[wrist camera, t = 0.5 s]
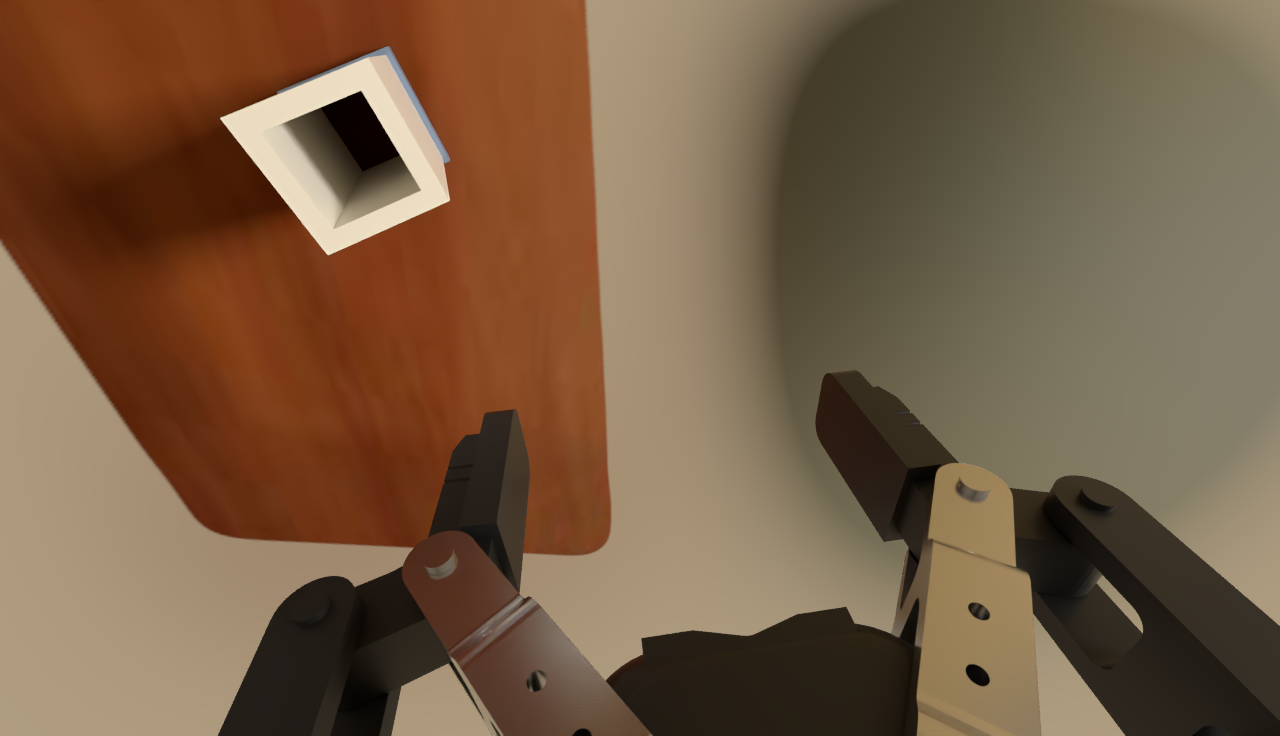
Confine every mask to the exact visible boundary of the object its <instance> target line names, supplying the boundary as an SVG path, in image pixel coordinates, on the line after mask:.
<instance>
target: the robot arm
mask: <svg viewBox="0 0 1280 736" xmlns="http://www.w3.org/2000/svg"><path fill="white" fill-rule="evenodd" d="M816 432H817V435H818V438H819V440H820V442H821V444H822V446H823V447H824V449H825V450H826V452H827V453H828V455H829V457H830V458H831V459H832V461H833V463H834V464H835V466H836V467H837V469H838V471H839V472H840V474H841V475H842V477H843V479H844V480H845V482H846V483H847V485H848V486H849V488H850V489H851V491H852V493H853V494H854V496H855V497H856V499H857V500H858V502H859V504H860V505H861V507H862V508H863V510H864V511H865V513H866V514H867V516H868V517H869V519H870V521H871V522H872V524H873V525H874V527H875V528H876V530H877V532H878V533H879V535H880V536H881V538H882V539H883V541H884V542H885V541H892V540H899V539H904V541H905V542H906V544H907V545H908V549H907V551H906V554H905V559H904V565H903V571H902V577H901V583H900V590H899V596H898V602H897V608H896V614H895V620H894V624H893V628H892V632H891V634H890V633H888V632H885V631H882V630H879V629H876V628H873V627H870V626H865V625H860V624H854V622H853V620H852V618H851V616H850V614H849V611H848V609H847V608H846V607H842V608H836V609H829V610H823V611H816V612H811V613H803V614H797V615H795V616H793V617H791V618H788V619H786V620H784V621H782V622H780V623H778V624H776V625H774V626H772V627H769V628H767V629H765V630H763V631H761V632H759V633H756V634H754V635H751V636H740V635H730V634H721V633H712V632H703V631H694V630H693V631H686V632H680V633H673V634H666V635H660V636H653V637H647V638H642V648H643V655H641V656H639V657H637V658H635V659H633V660H631V661H629V662H628V663H626V664H625V665H623V666H621V667H620V668H619V669H618V670H617V671H615V672H614V673H613V674H612V675H611V676H610V677H609V678H608V679H607V680H606V681H605V680H604V679H603V678H602V676H601V675H600V674H599V673H598V672H597V671H596V669H595V668H594V667H593V666H592V665H591V664H590V663H589V661H588V660H587V659H586V658H585V657H584V656H583V655H582V654H581V652H580V651H579V650H578V649H577V648H576V646H575V645H574V644H573V643H572V642H571V641H570V639H569V638H568V637H567V636H566V635H565V634H564V633H563V631H562V630H561V629H560V628H559V627H558V626H557V625H556V623H555V622H554V621H553V620H552V619H551V618H550V616H549V615H548V614H547V613H546V612H545V611H544V610H543V608H542V607H541V606H540V605H539V604H538V603H537V602H536V601H535V600H534V599H533V598H531V597H527V598H526V599H525V598H523V597H522V596H521V595H520V594H519V592H520V581H521V570H522V558H523V548H524V537H525V525H526V514H527V503H528V492H529V480H530V467H529V458H528V453H527V449H526V445H525V441H524V437H523V432H522V428H521V424H520V420H519V416H518V413H517V411H516V409H513V410H504V411H496V412H487V413H485V415H484V418H483V422H482V427H481V431H480V434H473V435H466V436H465V437H464V438H463V439H462V440H461V442H460V443H459V444H458V445H457V446H456V448H455V449H454V450H453V452H452V456H451V459H450V463H449V466H448V471H447V473H446V477H445V480H444V481H445V484H443V487H442V491H441V494H440V498H439V501H438V505H437V508H436V512H435V515H434V519H433V522H432V526H431V529H430V533H429V536H428V538H426V539H425V540H423V541H422V542H420V543H419V544H418V545H417V546H416V547H415V548H414V549H413V550H412V551H411V552H410V553H409V555H408V556H407V558H406V560H405V562H404V564H403V566H402V567H400V568H398V569H397V570H395V571H393V572H390V573H388V574H386V575H383V576H381V577H378V578H376V579H374V580H372V581H369V582H366V583H364V584H362V585H359V586H356V587H354V586H353V584H352V583H351V582H350V581H349V580H348V579H346V578H344V577H339V576H330V577H324V578H319V579H317V580H314V581H312V582H310V583H308V584H306V585H304V586H302V587H301V588H299V589H297V590H296V591H295V592H294V593H292V594H291V595H290V596H289V597H288V598H286V600H284V601H283V603H282V604H281V605H280V606H279V607H278V609H277V610H276V612H275V613H274V615H273V617H272V619H271V620H270V623H269V625H268V627H267V629H266V631H265V634H264V636H263V638H262V640H261V642H260V645H259V647H258V649H257V651H256V653H255V655H254V658H253V660H252V662H251V664H250V666H249V669H248V671H247V673H246V675H245V677H244V679H243V682H242V684H241V686H240V688H239V691H238V693H237V695H236V697H235V699H234V701H233V704H232V706H231V708H230V710H229V712H228V714H227V717H226V719H225V721H224V724H223V725H222V728H221V730H220V732H219V734H218V736H391V734H392V729H393V725H394V720H395V715H396V710H397V705H398V700H399V695H400V690H401V686H403V685H405V684H407V683H409V682H411V681H413V680H415V679H417V678H419V677H421V676H423V675H425V674H427V673H429V672H431V671H433V670H435V669H437V668H440V667H441V666H444V665H446V664H448V665H449V667H450V668H451V670H452V671H453V673H454V675H455V676H456V678H457V680H458V681H459V683H460V684H461V686H462V688H463V689H464V691H465V692H466V694H467V696H468V697H469V699H470V700H471V702H472V704H473V705H474V707H475V709H476V710H477V712H478V713H479V715H480V716H481V718H482V720H483V721H484V723H485V724H486V726H487V728H488V730H489V731H490V733H491V735H492V736H1041V725H1040V710H1039V695H1038V681H1037V666H1036V652H1035V637H1034V622H1033V614H1034V615H1035V616H1036V618H1037V619H1038V620H1039V621H1040V623H1041V624H1042V626H1043V627H1044V628H1045V630H1046V631H1047V632H1048V634H1049V635H1050V636H1051V638H1052V639H1053V640H1054V642H1055V643H1056V644H1057V646H1058V647H1059V648H1060V650H1061V651H1062V652H1063V653H1064V655H1065V656H1066V657H1067V659H1068V660H1069V661H1070V663H1071V664H1072V665H1073V666H1074V668H1075V669H1076V671H1077V672H1078V673H1079V675H1080V676H1081V677H1082V679H1083V680H1084V681H1085V683H1086V684H1087V685H1088V687H1089V688H1090V689H1091V690H1092V692H1093V693H1094V695H1095V696H1096V697H1097V698H1098V700H1099V701H1100V702H1101V704H1102V705H1103V706H1104V708H1105V709H1106V710H1107V712H1108V713H1109V714H1110V715H1111V717H1112V718H1113V720H1114V721H1115V722H1116V724H1117V725H1118V726H1119V727H1120V729H1121V730H1122V732H1123V733H1124V734H1125V736H1280V626H1279V625H1278V624H1277V623H1276V622H1274V621H1273V620H1272V619H1271V618H1270V617H1269V616H1267V615H1266V614H1265V613H1264V612H1263V611H1262V610H1260V609H1259V608H1258V607H1257V606H1256V605H1255V604H1253V603H1252V602H1251V601H1250V600H1249V599H1248V598H1246V597H1245V596H1244V595H1243V594H1242V593H1241V592H1239V591H1238V590H1237V589H1236V588H1235V587H1234V586H1233V585H1231V584H1230V583H1229V582H1228V581H1227V580H1226V579H1224V578H1223V577H1222V576H1221V575H1220V574H1218V573H1217V572H1216V571H1215V570H1214V569H1213V568H1212V567H1210V566H1209V565H1208V564H1207V563H1206V562H1204V561H1203V560H1202V559H1201V558H1200V557H1199V556H1198V555H1196V554H1195V553H1194V552H1193V551H1192V550H1191V549H1189V548H1188V547H1187V546H1186V545H1185V544H1184V543H1183V542H1181V541H1180V540H1179V539H1178V538H1177V537H1176V536H1174V535H1173V534H1172V533H1171V532H1170V531H1169V530H1167V529H1166V528H1165V527H1164V526H1163V525H1162V524H1160V523H1159V522H1158V521H1157V520H1156V519H1155V518H1153V517H1152V516H1151V515H1150V514H1149V513H1148V512H1146V511H1145V510H1144V509H1143V508H1142V507H1140V506H1139V505H1138V504H1137V503H1136V502H1135V501H1134V500H1133V499H1131V498H1130V497H1129V496H1127V495H1126V494H1125V493H1123V492H1122V491H1120V490H1119V489H1117V488H1115V487H1113V486H1111V485H1109V484H1107V483H1105V482H1102V481H1099V480H1096V479H1093V478H1089V477H1084V476H1064V477H1061V478H1059V479H1058V480H1057V481H1056V482H1055V483H1054V485H1053V487H1052V489H1051V490H1050V492H1049V493H1048V492H1039V491H1030V490H1022V489H1013V488H1009V487H1008V486H1007V485H1006V484H1005V483H1004V482H1003V481H1002V480H1001V479H1000V478H999V477H997V476H996V475H994V474H993V473H991V472H989V471H987V470H985V469H983V468H980V467H977V466H974V465H970V464H965V463H959V462H958V461H957V460H956V459H955V458H954V457H953V456H952V455H951V454H950V453H949V452H948V451H947V450H946V449H945V448H944V447H943V445H942V444H941V443H940V442H939V441H938V440H937V439H936V438H935V437H934V436H933V435H932V434H931V433H930V432H929V431H928V429H927V428H926V427H925V426H924V425H921V424H920V421H919V420H918V419H917V418H916V417H915V416H914V415H913V414H912V413H911V414H910V410H909V409H908V408H907V407H906V406H905V405H904V404H903V403H902V402H901V401H900V400H899V399H898V398H897V397H896V396H894V395H892V394H891V393H889V392H887V391H886V390H883V389H882V388H880V387H872V386H871V385H870V383H869V382H867V380H866V379H865V378H864V377H863V376H862V374H860V372H858V371H856V370H851V371H842V372H835V373H827V374H826V375H825V376H824V378H823V381H822V386H821V392H820V397H819V403H818V409H817V414H816ZM1102 575H1103V576H1104V577H1105V578H1106V579H1107V580H1108V581H1109V582H1110V583H1111V584H1112V585H1113V586H1114V587H1115V588H1116V589H1117V591H1118V592H1119V593H1120V594H1121V595H1122V596H1123V597H1124V598H1125V599H1126V600H1127V601H1128V602H1129V603H1130V604H1131V605H1132V607H1133V608H1134V609H1135V610H1136V612H1137V613H1138V615H1139V617H1140V619H1141V621H1142V624H1143V634H1142V633H1141V631H1140V630H1139V629H1138V628H1137V627H1136V626H1135V625H1134V624H1133V623H1132V622H1131V621H1130V620H1129V618H1128V617H1127V616H1126V615H1125V614H1124V613H1123V612H1122V611H1121V610H1120V609H1119V608H1118V606H1117V605H1116V604H1115V603H1114V602H1113V601H1112V600H1111V599H1110V598H1109V597H1108V595H1107V594H1106V593H1105V592H1104V591H1103V590H1102V589H1101V588H1100V587H1099V586H1098V584H1097V581H1098V580H1099V579H1100V577H1101V576H1102Z"/></svg>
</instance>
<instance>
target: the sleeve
mask: <svg viewBox="0 0 1280 736" xmlns="http://www.w3.org/2000/svg"><path fill="white" fill-rule="evenodd" d="M359 91H362V93H363V94H364V96H365V98H366V99H367V101H368V103H369V104H370V106H371V108H372V109H373V111H374V113H375V114H376V116H377V118H378V119H379V121H380V123H381V124H382V126H383V128H384V129H385V131H386V133H387V134H388V136H389V138H390V139H391V141H392V143H393V144H394V146H395V147H396V149H397V151H398V152H399V154H400V155H399V156H397V157H395V158H392V159H390V160H388V161H385V162H383V163H381V164H379V165H376V166H374V167H372V168H369V169H367V170H365V171H362V170H361V168H360V167H359V165H358V164H357V162H356V161H355V159H354V158H353V156H352V155H351V153H350V152H349V150H348V149H347V147H346V146H345V144H344V143H343V141H342V140H341V138H340V136H339V135H338V133H337V132H336V130H335V129H334V127H333V126H332V124H331V123H330V121H329V120H328V118H327V117H326V115H325V114H324V112H323V111H322V109H321V107H323V106H325V105H328V104H330V103H333V102H335V101H337V100H340V99H342V98H345V97H347V96H349V95H352V94H354V93H357V92H359ZM277 93H278V95H275V96H273V97H270V98H268V99H265V100H263V101H260V102H258V103H256V104H253V105H251V106H248V107H246V108H243V109H241V110H239V111H236V112H234V113H231V114H229V115H226V116H224V117H222V118H220V119H221V120H222V122H223V123H224V124H225V125H226V127H227V128H228V129H229V131H230V132H231V133H232V134H233V136H234V137H235V138H236V139H237V141H238V142H239V143H240V145H241V146H242V147H243V148H244V150H245V151H246V152H247V153H248V155H249V156H250V157H251V158H252V160H253V161H254V162H255V164H256V165H257V166H258V167H259V169H260V170H261V171H262V172H263V174H264V175H265V176H266V178H267V179H268V180H269V181H270V183H271V184H272V185H273V186H274V188H275V189H276V190H277V192H278V193H279V194H280V195H281V197H282V198H283V199H284V200H285V202H286V203H287V204H288V205H289V207H290V208H291V209H292V211H293V212H294V213H295V214H296V216H297V217H298V218H299V219H300V221H301V222H302V223H303V225H304V226H305V227H306V228H307V230H308V231H309V232H310V233H311V235H312V236H313V237H314V238H315V240H316V241H317V242H318V244H319V245H320V246H321V247H322V249H323V250H324V251H325V252H326V254H327V255H330V254H332V253H335V252H337V251H339V250H341V249H343V248H346V247H348V246H350V245H352V244H355V243H357V242H359V241H361V240H363V239H366V238H368V237H370V236H372V235H375V234H377V233H379V232H381V231H384V230H386V229H388V228H390V227H392V226H395V225H397V224H399V223H401V222H404V221H406V220H408V219H410V218H412V217H415V216H417V215H419V214H421V213H424V212H426V211H428V210H430V209H433V208H435V207H437V206H439V205H441V204H444V203H446V202H448V201H450V198H449V192H448V186H447V180H446V175H445V169H444V163H446V162H449V161H450V158H449V155H448V153H447V151H446V150H445V148H444V146H443V144H442V142H441V140H440V139H439V137H438V135H437V133H436V131H435V129H434V127H433V126H432V124H431V122H430V120H429V118H428V116H427V115H426V113H425V111H424V109H423V107H422V105H421V103H420V102H419V100H418V98H417V96H416V94H415V92H414V91H413V89H412V87H411V85H410V83H409V81H408V79H407V78H406V76H405V74H404V72H403V70H402V68H401V67H400V65H399V63H398V61H397V59H396V57H395V55H394V54H393V52H392V50H391V48H390V46H387V47H385V48H382V49H380V50H377V51H375V52H372V53H370V54H367V55H365V56H363V57H360V58H358V59H355V60H353V61H350V62H348V63H346V64H343V65H341V66H338V67H336V68H333V69H331V70H328V71H326V72H324V73H321V74H319V75H316V76H314V77H311V78H309V79H307V80H304V81H302V82H299V83H297V84H294V85H292V86H289V87H287V88H285V89H282V90H280V91H277Z"/></svg>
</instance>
